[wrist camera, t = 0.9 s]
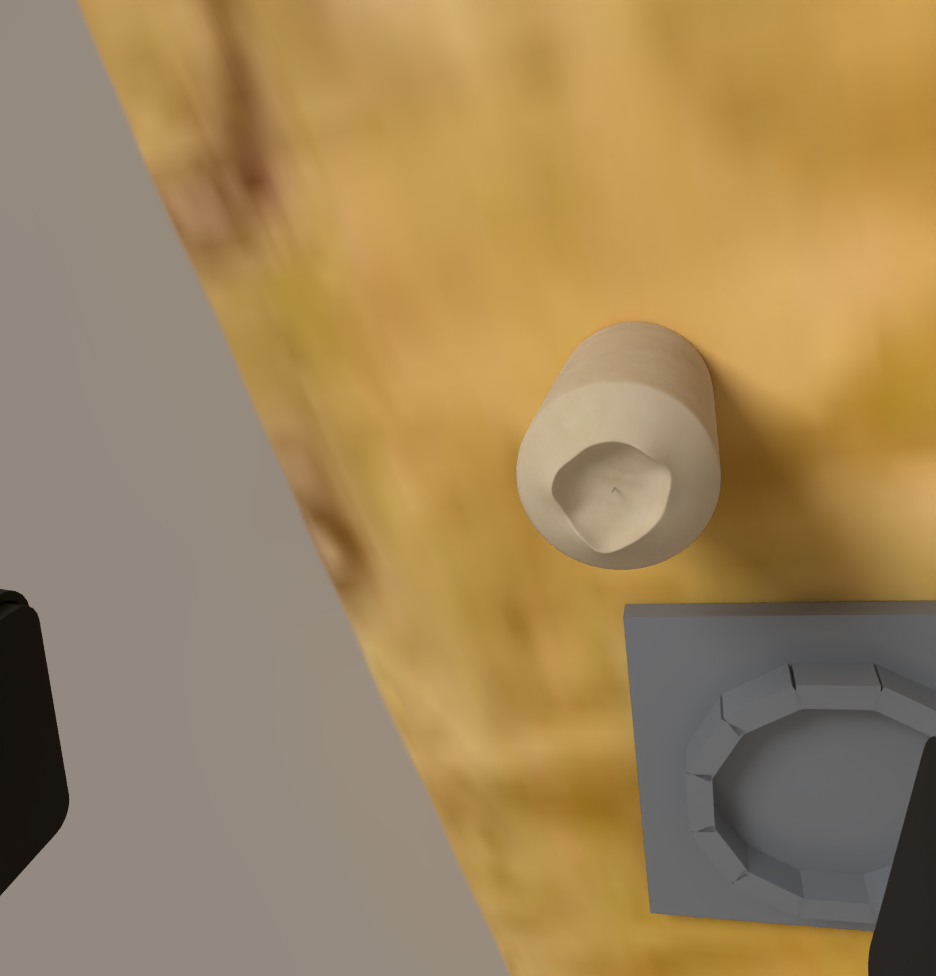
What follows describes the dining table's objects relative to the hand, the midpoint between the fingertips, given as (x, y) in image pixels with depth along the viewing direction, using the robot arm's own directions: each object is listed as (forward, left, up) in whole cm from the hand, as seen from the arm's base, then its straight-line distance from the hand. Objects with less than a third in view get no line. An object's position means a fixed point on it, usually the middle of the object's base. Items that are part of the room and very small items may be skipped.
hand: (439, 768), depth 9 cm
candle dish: (-7, +18, -24) cm, 31 cm away
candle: (0, +2, -24) cm, 24 cm away
